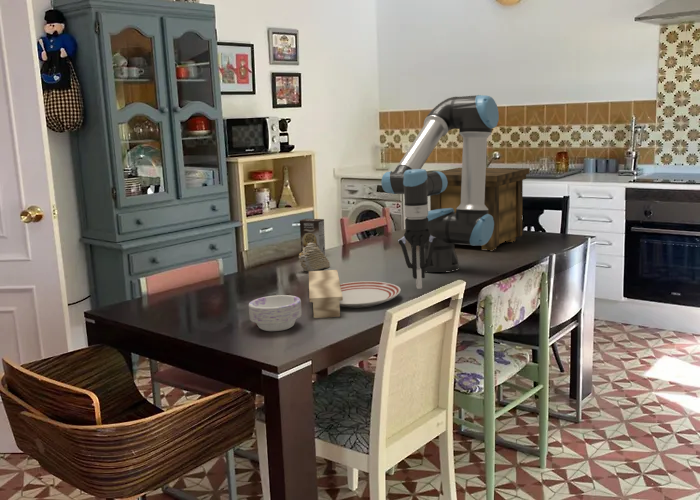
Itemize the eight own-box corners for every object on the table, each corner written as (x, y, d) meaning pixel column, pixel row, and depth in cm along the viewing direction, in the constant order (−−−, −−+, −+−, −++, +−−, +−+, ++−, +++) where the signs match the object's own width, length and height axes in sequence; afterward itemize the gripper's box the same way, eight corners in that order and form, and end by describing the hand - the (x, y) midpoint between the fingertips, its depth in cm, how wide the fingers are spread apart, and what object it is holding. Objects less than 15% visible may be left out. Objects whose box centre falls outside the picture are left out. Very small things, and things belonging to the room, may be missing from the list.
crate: (497, 254, 289) (497, 175, 283) (424, 247, 309) (422, 174, 303) (529, 239, 317) (529, 168, 311) (460, 234, 337) (459, 167, 331)
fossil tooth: (332, 270, 278) (305, 274, 267) (322, 268, 282) (294, 271, 272) (334, 242, 276) (306, 245, 266) (323, 240, 281) (295, 242, 270)
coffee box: (300, 257, 301) (298, 220, 298) (307, 254, 307) (305, 218, 304) (320, 257, 298) (318, 220, 295) (326, 254, 304) (324, 218, 300)
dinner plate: (339, 317, 210) (338, 306, 210) (304, 298, 234) (304, 288, 234) (416, 303, 222) (416, 293, 221) (376, 286, 246) (375, 277, 246)
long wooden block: (337, 286, 246) (337, 269, 245) (343, 316, 210) (342, 296, 209) (309, 288, 246) (308, 271, 245) (310, 318, 210) (309, 298, 208)
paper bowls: (254, 320, 211) (253, 294, 209) (304, 318, 210) (303, 293, 208) (245, 336, 196) (243, 308, 194) (299, 334, 195) (298, 307, 194)
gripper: (398, 220, 221) (401, 292, 226) (438, 217, 221) (440, 289, 226) (395, 216, 228) (398, 286, 233) (434, 214, 229) (436, 283, 234)
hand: (419, 287), depth 230 cm, fingers closed
